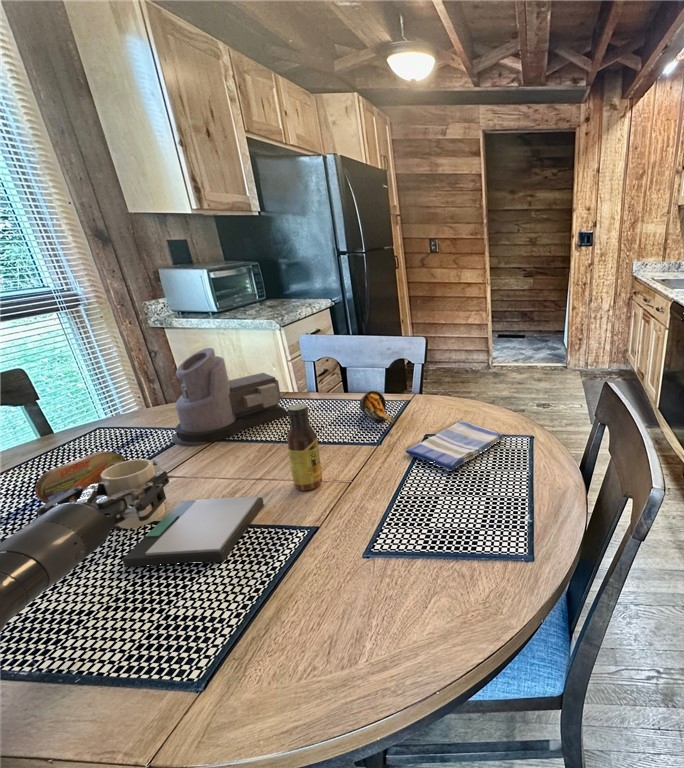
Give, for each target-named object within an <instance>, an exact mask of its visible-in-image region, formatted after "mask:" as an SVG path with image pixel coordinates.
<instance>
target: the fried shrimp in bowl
mask: <svg viewBox="0 0 684 768" xmlns="http://www.w3.org/2000/svg"><path fill="white" fill-rule="evenodd" d="M386 406H387V402H386V399H385V397H384V395H383V394H382V393H381V392H379V391H377V390H369V391H368V392H366V393H365V394H364V395H363V396H362V398H361V399H360V401H359V410H360V411H361V412H362V413H363V415H365V416H366V418H367V419H369V420H370V421H372V422H376V421H384V420H386V421H388V422H389V423H391V424H394V423H395V421H396V419H395V418H393V417H391V416H389V415H387V414H386Z"/></svg>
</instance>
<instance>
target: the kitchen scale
mask: <svg viewBox="0 0 684 768" xmlns="http://www.w3.org/2000/svg"><path fill="white" fill-rule="evenodd" d="M263 507H264V500H263V497H259V496H239V497H238V496H237V497H235V496H234V497H216V498H215V497H214V498H197V499H196V500H195V499H194V500H182V501H180V502H179V503H178V504H177V505H176V506H175V507H174V508H173V509H172V510H171V511H170V512H169V513H168V514H167V515H166V516H164V517H163V519H161V521H160V522H158V524H156V525H155V526H154V527H153V528H152V529H151V530H150V531H149V532H148V533H147V534H146V535H145V536H144V537H143V538H142V539H141V540H140V541H139V542H138V543H137V544H136V545H135V546H133V547H132V549H131V550H129V552H128V553H127V554H126V555H125V556H123V557H122V559H121V560H122V563H123V566H124V568H125V567H134V568H137V567H136V566H147V565H160V564H161V565H164V564H177V563H189V562H215V563H224V562H225V560H226V559H227V558H228V556H229V555H230V554H231V552H232V550H234V548H235V546H236V545H237V543H238V542H239V541H240V539H241V538H242V536H243V535H244V534H245V532H246V531H247V529H248V528H249V527H250V525H251V524H252V522H253V521H254V519H255V518H256V516H257V515H258V514H259V512H260V511H261V510H262V508H263ZM223 561H224V562H223Z"/></svg>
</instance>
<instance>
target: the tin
mask: <svg viewBox="0 0 684 768" xmlns="http://www.w3.org/2000/svg"><path fill="white" fill-rule="evenodd" d="M125 461H127V460H126V458H125V457H124V456H123V455H122V454H120V453H117V452H115V451H114V452H113V451H96V452H93V453H91V454H88V455H86V456H83V457H80V458H78V459H75V460H72V461H70V462H66V463H65V464H62V465H59V466H57V467H54V468H51V469H49V470H47V471H46V472H44V473H43V474H42V475H41V476H40V477H39V478H38V480H37V481H36V484H35V487H34V492H35V496H36V497H37V499H38V500H39V501H40V502H41V503H44V504H47V503H49V502H50V501H52V500H54V499H56V498H57V497H59V496H61V495H63V494H65V493H66V492H68V491H70V490H72V489H73V488H76V487H82V488H83V489H87V487H89V486H91V485H94V484H99V483H100V482H101V481H102V479H101V476H100V475H101V473H102V472H103V471H104V470H106V469H107V468H109V467H111V466H113V465H115V464H118V463H121V462H125ZM69 501H70V503H72V502H74V501H75V499H74V497H72V498H70V500H69Z"/></svg>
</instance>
